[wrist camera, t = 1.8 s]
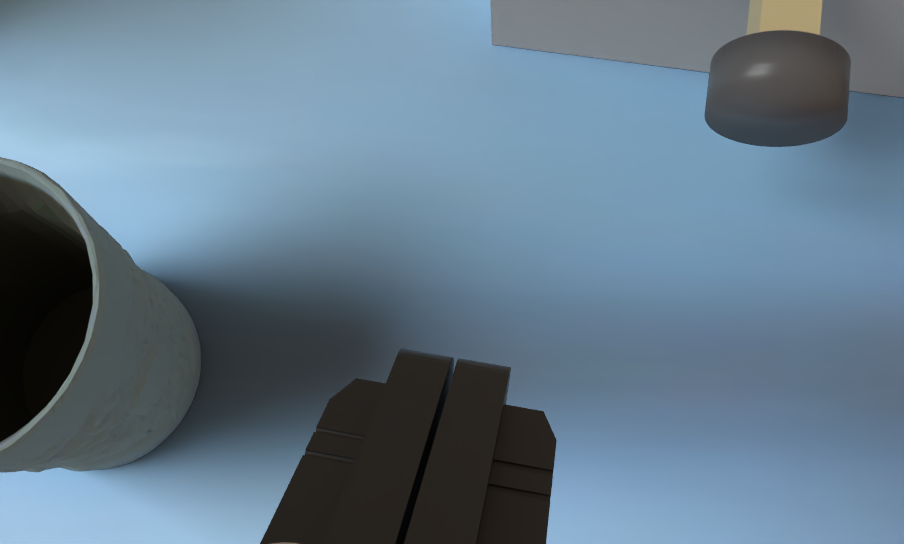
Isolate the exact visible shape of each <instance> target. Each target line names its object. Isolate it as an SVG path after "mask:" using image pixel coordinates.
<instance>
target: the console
mask: <svg viewBox="0 0 904 544" xmlns="http://www.w3.org/2000/svg"><path fill="white" fill-rule="evenodd" d="M749 5H750V0H491V29H492V45H500V46H508V47H516V48H523V49H531V50H539V51H546V52H554V53H562V54H570V55H577V56H585V57H593V58H601V59H608V60H616V61H624V62H632V63H639V64H647V65H655V66H663V67H670V68H678V69H686V70H693V71H701V72H709V73H710V64H711V60H712V57H713V56H714V54H715V53H716V52H717V51H718V49H720V48H721V47H722V46H723V45H725V44H727V43H728V42H730V41H732V40H734V39H737V38H739V37H742V36H745V35H746V34H747V24H748V14H749ZM820 35H821V36H824V37H826V38H829V39H831V40H833V41H835V42H836V43H838V44H840V45H841V46H842V47H843V48H844V49H845V50H846V51H847V52H848V54H849V56H850V59H851V69H850V84H849V91H856V92H864V93H871V94H879V95H887V96H895V97H902V98H904V0H822V13H821V25H820Z"/></svg>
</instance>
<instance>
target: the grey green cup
mask: <svg viewBox="0 0 904 544" xmlns="http://www.w3.org/2000/svg"><path fill="white" fill-rule="evenodd" d="M200 372H201V347H200V341H199V336H198V333H197V331H196V328H195V325H194V323H193V320H192V318H191V316H190V314H189V313H188V311H187V310H186V308H185V307H184V305H183V304H182V303H181V301H180V300H179V299H178V298H177V297H176V296H175V295H174V294H173V293H172V292H171V291H170V290H169V289H168V288H167V287H166V286H165V285H164V284H163V283H162V282H161V281H160V280H158V279H157V278H156V277H154V276H152V275H150V274H148V273H146V272H145V271H143V270H141V269H140V268H139V267H138V266H136V265H135V263H134V261H133V260H132V258H131V256H130V255H129V253H128V252H127V251H126V250H124V249H122V247H121V245H120V244H119V243H118V242H117V241H116V240H115V239H114V238H113V237H112V236H111V235H110V234H109V233H108V232H107V231H106V230H105V229H104V228H103V227H101V226H100V225H99V224H98V223H97V222H96V221H95V220H94V219H93V218H92V217H91V216H90V215H89V214H88V213H87V212H86V211H85V210H84V209H83V208H82V207H81V206H80V205H79V204H78V203H77V202H76V201H75V200H74V199H73V198H72V197H71V196H70V195H69V194H68V193H67V192H66V191H65V190H64V189H63V188H62V187H61V186H60V185H59V184H58V183H56V182H55V181H54V180H52V179H51V178H50V177H48V176H47V175H46V174H45V173H43V172H41V171H39V170H37V169H35V168H33V167H31V166H29V165H26V164H23V163H20V162H18V161H14V160H10V159H5V158H1V157H0V472H15V471H23V470H24V471H29V472H41V471H43V470H47V469H52V468H58V467H60V468H64V469H68V470H72V471H90V470H102V469H109V468H114V467H118V466H121V465H124V464H127V463H130V462H132V461H134V460H136V459H138V458H140V457H142V456H144V455H145V454H147V453H149V452H150V451H151V450H153V449H154V448H156V447H157V446H158V445H160V444H161V443H162V442H163V441H164V440H165V439H166V438H167V437H168V436H169V435H170V434H171V433H172V432H173V431H174V430H175V429H176V427H177V426H178V425H179V424H180V423H181V421H182V419H183V418H184V416H185V414H186V413H187V411H188V409H189V407H190V405H191V403H192V401H193V399H194V397H195V393H196V390H197V387H198V384H199V379H200Z"/></svg>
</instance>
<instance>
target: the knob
mask: <svg viewBox="0 0 904 544" xmlns="http://www.w3.org/2000/svg"><path fill="white" fill-rule="evenodd" d="M821 13H822V0H750V5H749V14H748V24H747V34H746V35H745V36H742V37H739V38H737V39H734V40H732V41H730V42H728V43H727V44H725V45H723V46H722V47H721V48H720V49H718V51H717V52H716V53H715V54H714V56H713V57H712V60H711V64H710V73H709V82H708V90H707V99H706V108H705V120H706V122H707V124H708V125H709V127H710V128H711V129H712V130H714V131H715V132H716V133H718V134H720V135H722V136H724V137H726V138H728V139H731V140H734V141H737V142H741V143H745V144H750V145H757V146H769V147H785V146H797V145H803V144H809V143H813V142H816V141H820V140H823V139H825V138H828V137H830V136H832V135H834V134H835V133H837V132H838V131H839V130H840V129H841V128H842V127H843V126H844V125H845V123H846V121H847V113H848V98H849V84H850V69H851V59H850V56H849V54H848V52H847V51H846V50H845V49H844V48H843V47H842V46H841V45H840V44H838V43H836V42H835V41H833V40H831V39H829V38H826V37H824V36H821V35H820V25H821Z"/></svg>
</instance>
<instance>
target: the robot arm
mask: <svg viewBox="0 0 904 544" xmlns="http://www.w3.org/2000/svg"><path fill="white" fill-rule="evenodd" d="M453 366H454V360H453V358H452V357H446V356H441V355H435V354H429V353H423V352H417V351H412V350H406V349H401V350H400V351H399V353H398V355H397V357H396V360H395V362H394V365H393V367H392V370H391V372H390V375H389V377H388V380H387V382H386V384H385V383H379V382H373V381H368V380H362V379H355V380H354V381H352V382H351V383H350V384H349V385H347V386H346V387H345V388H344V389H342V390H341V391H340V392H339V393H337V394H336V395H335V396H334V397H332V398H331V399H330V400H329V402H328V404H327V407H326V409H325V411H324V413H323V415H322V417H321V419H320V421H319V423H318V425H317V429H316V432H314V433H313V436H312V438H311V440H310V442H309V444H308V446H307V448H306V452H305V455H303V456H302V458H301V460H300V462H299V465H298V467H297V469H296V471H295V473H294V475H293V477H292V479H291V481H290V483H289V485H288V487H287V489H286V491H285V493H284V496H283V498H282V500H281V502H280V504H279V506H278V508H277V510H276V512H275V514H274V516H273V518H272V520H271V522H270V525H269V527H268V529H267V531H266V533H265V535H264V537H263V539H262V541H261V543H260V544H546V536H547V527H548V517H549V507H550V497H551V488H552V478H553V476H552V475H553V468H554V459H555V449H556V438H555V436H554V434H553V432H552V429H551V427H550V425H549V423H548V421H547V418H546V416H545V414H544V412H543V411H538V410H533V409H527V408H521V407H516V406H510V405H506V398H507V392H508V385H509V378H510V370H511V367H506V366H500V365H494V364H488V363H483V362H477V361H471V360H465V359H458V361H457V363H456V367H455V370H454V373H453Z"/></svg>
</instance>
